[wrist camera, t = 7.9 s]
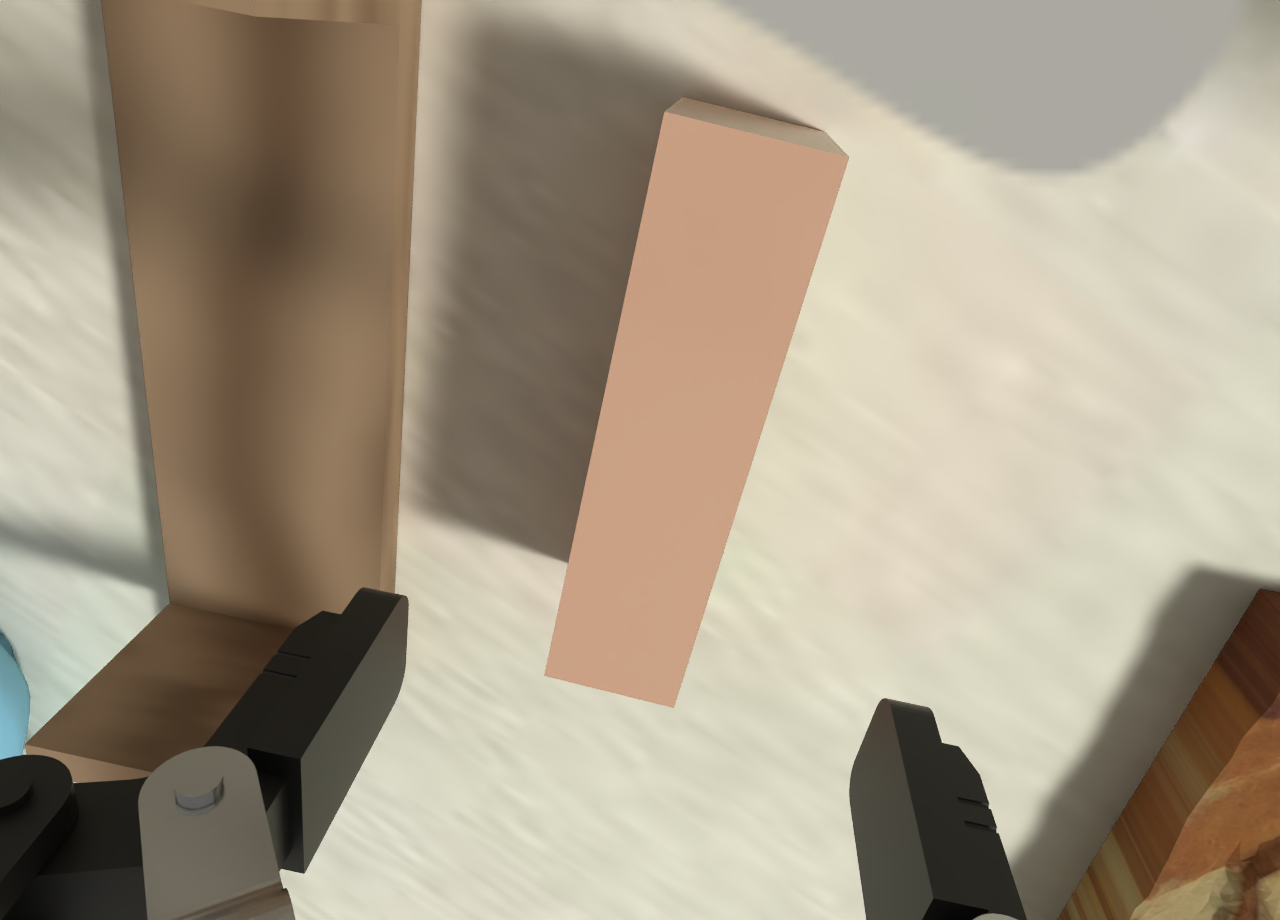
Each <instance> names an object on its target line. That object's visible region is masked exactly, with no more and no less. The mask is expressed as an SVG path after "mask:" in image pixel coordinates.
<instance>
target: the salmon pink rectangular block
mask: <svg viewBox="0 0 1280 920" xmlns="http://www.w3.org/2000/svg"><path fill="white" fill-rule="evenodd" d="M848 159H849V156H848V155H847V154H846V153H845V152H844V151H843V150H842V149H841V148H840V147H839V146H838V145H837V144H836V143H835V142H834V141H833V139H832V138H831V137H830V136H829V135H828V134H827V133H826V132H824V131H820V130H816V129H812V128H807V127H803V126H799V125H795V124H791V123H787V122H783V121H779V120H775V119H771V118H767V117H763V116H759V115H754V114H750V113H746V112H742V111H738V110H734V109H730V108H726V107H722V106H718V105H714V104H710V103H706V102H701V101H697V100H693V99H689V98H685V97H682V98H681V99H680V100H678V101H677V102H676V103H675V104H673V105H672V106H671V107H670V108H668V109H667V110H666V111H665V112H664V115H663V120H662V125H661V130H660V134H659V139H658V144H657V148H656V153H655V158H654V162H653V167H652V172H651V177H650V181H649V186H648V191H647V195H646V200H645V205H644V209H643V214H642V219H641V224H640V228H639V233H638V238H637V242H636V247H635V252H634V257H633V261H632V266H631V271H630V275H629V280H628V285H627V289H626V294H625V299H624V304H623V308H622V313H621V318H620V322H619V327H618V332H617V336H616V341H615V346H614V351H613V355H612V360H611V365H610V369H609V374H608V379H607V383H606V388H605V393H604V398H603V402H602V407H601V412H600V416H599V421H598V426H597V430H596V435H595V440H594V445H593V449H592V454H591V459H590V463H589V468H588V473H587V477H586V482H585V487H584V492H583V496H582V501H581V506H580V510H579V515H578V520H577V524H576V529H575V534H574V539H573V543H572V548H571V553H570V557H569V562H568V567H567V571H566V576H565V581H564V586H563V590H562V595H561V600H560V604H559V609H558V614H557V618H556V623H555V628H554V633H553V637H552V642H551V647H550V651H549V656H548V661H547V665H546V670H545V675H544V676H548V677H552V678H556V679H560V680H564V681H568V682H572V683H576V684H580V685H584V686H588V687H592V688H596V689H600V690H604V691H608V692H612V693H616V694H620V695H624V696H628V697H632V698H636V699H640V700H644V701H648V702H652V703H656V704H661V705H665V706H669V707H673V708H674V705H675V702H676V699H677V696H678V693H679V690H680V687H681V683H682V680H683V677H684V674H685V671H686V668H687V665H688V662H689V658H690V655H691V652H692V649H693V646H694V643H695V640H696V636H697V633H698V630H699V627H700V624H701V621H702V618H703V614H704V611H705V608H706V605H707V602H708V599H709V596H710V592H711V589H712V586H713V583H714V580H715V577H716V574H717V571H718V567H719V564H720V561H721V558H722V555H723V552H724V549H725V545H726V542H727V539H728V536H729V533H730V530H731V527H732V523H733V520H734V517H735V514H736V511H737V508H738V505H739V501H740V498H741V495H742V492H743V489H744V486H745V483H746V479H747V476H748V473H749V470H750V467H751V464H752V461H753V458H754V454H755V451H756V448H757V445H758V442H759V439H760V436H761V432H762V429H763V426H764V423H765V420H766V417H767V414H768V410H769V407H770V404H771V401H772V398H773V395H774V392H775V388H776V385H777V382H778V379H779V376H780V373H781V370H782V367H783V363H784V360H785V357H786V354H787V351H788V348H789V345H790V341H791V338H792V335H793V332H794V329H795V326H796V323H797V319H798V316H799V313H800V310H801V307H802V304H803V301H804V297H805V294H806V291H807V288H808V285H809V282H810V279H811V276H812V272H813V269H814V266H815V263H816V260H817V257H818V254H819V250H820V247H821V244H822V241H823V238H824V235H825V232H826V228H827V225H828V222H829V219H830V216H831V213H832V210H833V206H834V203H835V200H836V197H837V194H838V191H839V188H840V184H841V181H842V178H843V175H844V172H845V169H846V166H847V163H848Z"/></svg>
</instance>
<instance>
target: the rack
mask: <svg viewBox="0 0 1280 920" xmlns="http://www.w3.org/2000/svg"><path fill="white" fill-rule="evenodd" d="M101 2H102V11H103V20H104V29H105V37H106V46H107V55H108V64H109V73H110V81H111V90H112V99H113V108H114V116H115V125H116V134H117V143H118V152H119V160H120V169H121V178H122V187H123V195H124V204H125V213H126V222H127V230H128V239H129V248H130V257H131V266H132V274H133V283H134V292H135V301H136V309H137V318H138V327H139V336H140V345H141V353H142V362H143V371H144V380H145V388H146V397H147V406H148V415H149V424H150V432H151V441H152V450H153V459H154V467H155V476H156V485H157V494H158V502H159V511H160V520H161V529H162V538H163V546H164V555H165V564H166V573H167V581H168V590H169V599H170V604H168V605H167V606H166V607H165V608H164V609H163V610H162V611H161V612H160V613H159V614H158V615H157V616H156V617H155V618H154V619H153V620H152V621H151V622H150V623H149V624H148V625H147V626H146V627H145V628H144V629H143V630H142V631H141V632H140V633H139V634H138V635H137V636H136V637H135V638H134V639H133V640H131V641H130V642H129V643H128V644H127V645H126V646H125V647H124V648H123V649H122V650H121V651H120V652H119V653H118V654H117V655H116V656H115V657H114V658H113V659H112V660H111V661H110V662H109V663H108V664H107V665H106V666H105V667H104V668H103V669H102V670H101V671H100V672H99V673H98V674H97V675H96V676H94V677H93V678H92V679H91V680H90V681H89V682H88V683H87V684H86V685H85V686H84V687H83V688H82V689H81V690H80V691H79V692H78V693H77V694H76V695H75V696H74V697H73V698H72V699H71V700H70V701H69V702H68V703H67V704H66V705H65V706H64V707H63V708H62V709H61V710H60V711H58V712H57V713H56V714H55V715H54V716H53V717H52V718H51V719H50V720H49V721H48V722H47V723H46V724H45V725H44V726H43V727H42V728H41V729H40V730H39V731H38V732H37V733H36V734H35V735H34V736H33V737H32V738H31V739H30V740H29V741H28V742H27V743H26V744H25V748H26V752H27V755H44V756H48V757H53V758H55V759H57V760H59V761H61V762H62V763H63V764H65V765H66V766H67V768H68V769H69V770H70V773H71V776H72V780H73V782H77V783H85V782H100V781H115V780H130V779H138V778H144V777H148V776H150V774H151V773H152V772H153V771H154V770H155V769H156V768H158V767H159V766H160V765H162V764H163V763H164V762H166V761H167V760H169V759H171V758H172V757H174V756H176V755H179V754H181V753H183V752H186V751H189V750H192V749H196V748H201V747H203V746H204V745H205V744H206V743H207V742H208V740H209V739H210V738H211V736H212V735H213V734H214V733H215V731H216V730H217V729H218V727H219V726H220V725H221V723H222V722H223V721H224V720H225V718H226V717H227V716H228V714H229V713H230V712H231V710H232V709H233V708H234V707H235V705H236V704H237V703H238V701H239V700H240V699H241V697H242V696H243V695H244V694H245V692H246V691H247V690H248V688H249V687H250V686H251V684H252V683H253V682H254V681H255V679H256V678H257V677H258V675H259V674H262V673H263V669H264V668H265V666H266V665H267V664H268V662H269V661H270V660H271V658H272V657H273V656H274V655H277V652H278V649H279V648H280V647H281V645H282V644H283V643H284V642H285V640H286V639H287V638H288V636H289V635H290V634H291V633H292V631H293V630H294V629H295V628H296V627H297V626H299V625H300V624H302V623H304V622H305V621H307V620H308V619H310V618H312V617H313V616H315V615H316V614H318V613H319V612H321V611H327V612H332V613H337V614H342V612H343V611H344V610H345V608H346V607H347V605H348V604H349V603H350V601H351V600H352V598H353V597H354V596H355V594H356V593H357V591H358V590H359V589H360V588H362V587H366V588H371V589H376V590H380V591H385V592H390V593H395V571H396V549H397V527H398V505H399V483H400V461H401V439H402V418H403V396H404V374H405V352H406V330H407V308H408V286H409V264H410V242H411V220H412V198H413V176H414V154H415V132H416V110H417V88H418V66H419V44H420V22H421V0H101Z"/></svg>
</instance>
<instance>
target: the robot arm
mask: <svg viewBox="0 0 1280 920" xmlns="http://www.w3.org/2000/svg"><path fill="white" fill-rule="evenodd" d="M408 606H409V604H408V598H407V596H404V595H399V594H395V593H390V592H385V591H380V590H376V589H371V588H366V587H362V588H360V589H359V590H358V591H357V593H356V594H355V596H354V597H353V598H352V600H351V601H350V603H349V604H348V605H347V607H346V608H345V610H344V611H343V612H342V614H337V613H332V612H327V611H321V612H319V613H318V614H316V615H315V616H313V617H312V618H310V619H308V620H307V621H305V622H304V623H302V624H300V625H299V626H297V627H296V628H295V629H294V630H293V631H292V633H291V634H290V635H289V636H288V638H287V639H286V640H285V642H284V643H283V644H282V645H281V647H280V648H279V649H278V652H277V655H274V656H273V657H272V658H271V660H270V661H269V662H268V664H267V665H266V666H265V668H264V669H263V673H262V674H259V675H258V677H257V678H256V679H255V681H254V682H253V683H252V684H251V686H250V687H249V688H248V690H247V691H246V692H245V694H244V695H243V696H242V697H241V699H240V700H239V701H238V703H237V704H236V705H235V707H234V708H233V709H232V710H231V712H230V713H229V714H228V716H227V717H226V718H225V720H224V721H223V722H222V723H221V725H220V726H219V727H218V729H217V730H216V731H215V733H214V734H213V735H212V736H211V738H210V739H209V740H208V742H207V743H206V744H205V745H204V746H203V747H201V748H196V749H192V750H189V751H186V752H183V753H181V754H179V755H176V756H174V757H172V758H171V759H169V760H167V761H166V762H164V763H163V764H162V765H160V766H159V767H158V768H156V769H155V770H154V771H153V772H152V773H151V774H150V776H148V777H144V778H138V779H130V780H115V781H100V782H85V783H73V780H72V776H71V773H70V770H69V769H68V768H67V766H66V765H65V764H63V763H62V762H61V761H59V760H57V759H55V758H53V757H48V756H44V755H20V756H13V757H9V758H5V759H1V760H0V920H295V916H294V911H293V907H292V903H291V899H290V896H289V893H288V890H287V889H286V888H285V889H283V886H282V882H281V878H280V874H279V871H280V870H281V869H285V870H290V871H294V872H299V873H303V874H304V873H305V872H306V870H307V868H308V866H309V864H310V862H311V860H312V858H313V856H314V855H315V853H316V851H317V849H318V847H319V845H320V843H321V841H322V839H323V838H324V836H325V834H326V832H327V830H328V828H329V826H330V824H331V822H332V821H333V819H334V817H335V815H336V813H337V811H338V809H339V807H340V805H341V804H342V802H343V800H344V798H345V796H346V794H347V792H348V790H349V789H350V787H351V785H352V783H353V781H354V779H355V777H356V775H357V773H358V772H359V770H360V768H361V766H362V764H363V762H364V760H365V758H366V756H367V755H368V753H369V751H370V749H371V747H372V745H373V743H374V741H375V739H376V738H377V736H378V734H379V732H380V730H381V728H382V726H383V724H384V722H385V721H386V719H387V717H388V715H389V713H390V711H391V709H392V707H393V706H394V704H395V701H396V699H397V697H398V694H399V692H400V689H401V685H402V682H403V678H404V673H405V666H406V648H407V628H408ZM849 796H850V807H851V814H852V821H853V828H854V835H855V842H856V849H857V856H858V863H859V871H860V878H861V885H862V892H863V899H864V906H865V913H866V920H1027V919H1026V916H1025V913H1024V910H1023V907H1022V904H1021V900H1020V897H1019V894H1018V891H1017V888H1016V885H1015V882H1014V879H1013V876H1012V873H1011V870H1010V867H1009V864H1008V860H1007V857H1006V854H1005V851H1004V848H1003V845H1002V842H1001V839H1000V836H999V834H998V833H996V828H997V827H996V823H995V820H994V817H993V814H992V811H991V809H989V808H988V806H989V802H988V799H987V796H986V793H985V790H984V786H983V783H982V780H981V777H980V774H979V773H978V772H977V770H976V769H975V768H974V766H973V765H972V764H971V762H970V761H969V760H968V758H967V757H966V756H965V754H964V753H963V752H962V750H961V749H960V748H959V747H958V746H954V745H949V744H944V743H942V742H941V738H940V735H939V731H938V728H937V724H936V721H935V717H934V714H933V712H932V710H931V709H930V708H928V707H924V706H919V705H915V704H910V703H905V702H900V701H896V700H891V699H886V698H883V699H882V700H881V701H880V702H879V704H878V706H877V708H876V710H875V713H874V715H873V718H872V720H871V722H870V725H869V727H868V730H867V732H866V734H865V737H864V739H863V742H862V744H861V747H860V749H859V751H858V754H857V756H856V759H855V761H854V764H853V768H852V772H851V778H850V789H849Z"/></svg>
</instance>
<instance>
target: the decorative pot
mask: <svg viewBox="0 0 1280 920" xmlns="http://www.w3.org/2000/svg"><path fill="white" fill-rule="evenodd" d="M29 714H30V694H29V689H28V684H27V682H26V680H25V677H24V675H23V673H22V671H21V670H20V668H19V667H18V665H17V664H16V662H15V660H14V659H13V651H12V647H11V645H10V643H9V642H8V640H7V639H6V638H5V637H4V636H3V635H2V634H1V633H0V760H1V759H5V758H9V757H13V756H20V755H22V753H23V748H24V743H25V738H26V734H27V729H28V720H29Z"/></svg>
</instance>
